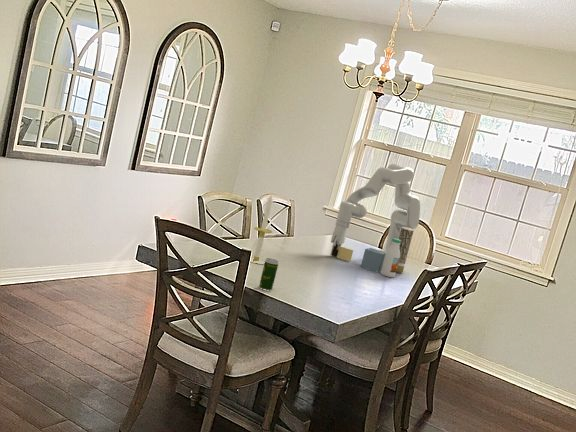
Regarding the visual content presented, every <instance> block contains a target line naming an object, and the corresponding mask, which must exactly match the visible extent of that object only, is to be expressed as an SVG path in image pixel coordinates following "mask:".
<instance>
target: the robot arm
mask: <svg viewBox="0 0 576 432" xmlns="http://www.w3.org/2000/svg"><path fill="white" fill-rule="evenodd" d="M414 176H415V172H414V170H413V169H412V168H410V167H409V166H408V167H407V166H405V165H404V166H403V165H400V164H395V163H392V164H389V165H388V166H387V167H378V169H377V170H376V171H375V172H374V174H373V175H371V177H370V179H369V180H368V182H367V183H366V184H365V185H364V186H363V187H360V188H358V189H357V190H355V191H354V192H352V193H350V195H349V196H348V197H347V199H346V201H341V202H340V205H339V208H338V209H339V210H338V213H337V218H336V220H335V227H334V230H333V231H332V232H333V233H332V236H331V240H330V243H332V246H333V250H332V249H331V250H332V254H331V253H330V254H331V255H332V257H334V256H335V258H337V254H338V247H339V246H341V247H342V245H343V244H344V243H345V240H346V237H347V233H348V229H349V228H350V224H351V219H352V217H355V218H357V219H360V218H364V217H365V216H366V215H367V212H368V210H367V207H365V206H364V205H363V204H360V203H359V202H360V201H361V200H365V199H368V198H372V197H375V196H378V194H379V193H380V192H381V190H382V189H383V187H384V186H385V185H386V184H387V185H390V186H395V189H394V205H395V206H396V207H397V208H399V209H396V210H393V212H392V213H391V216H390V223H389V229H388V234H387V238H386V242H385V245H384V249H383V252H387V250H388V249H389V247H390V246H391V244H392V239H393V238H395V239H399V236H400V232H401V228H402V227H407V228H411V229H413V230H414V231H415V229H417V228H418V226H419V223H420V215H421V201H420V199H419V197H418V196H416V195H414V194H411V183H410V182H412V180H413V179H414ZM331 255H330V256H331Z"/></svg>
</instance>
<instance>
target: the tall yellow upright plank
mask: <svg viewBox="0 0 576 432" xmlns="http://www.w3.org/2000/svg"><path fill="white" fill-rule="evenodd" d="M332 250H333V245H332V246H331V251H330V253H329V254H330V256H332V255H331V254H332ZM353 252H354V249H351V248H347V247H345V246H342V245H341V246H339V247H338V254H337V257H335V256H332V257H335V258H338V259H341V260H344V261H347V262H351V261H352V258H353V257H352V256H353Z"/></svg>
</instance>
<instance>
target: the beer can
mask: <svg viewBox="0 0 576 432" xmlns="http://www.w3.org/2000/svg"><path fill="white" fill-rule="evenodd" d="M264 262H265V263H264V265H263V269H262V273H261V276H260V280H259V285H258V287H260V288H262V289H266V290H271V291H272V290H273V287H274V283H275V279H276V275H277V270H278V267H279V260H277V259H275V258H270V257H267V258H265V260H264ZM260 288H259V289H260ZM262 289H261V290H262Z"/></svg>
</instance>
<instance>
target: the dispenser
mask: <svg viewBox="0 0 576 432" xmlns="http://www.w3.org/2000/svg"><path fill="white" fill-rule="evenodd" d="M385 254H386V252H384V250H383V251H382V250H379V249H376V248H373V247H368V248H364V252H363V256H362V261H361V265H360V267H361V268H362V269H366V270H368V271H369V270H370V271H373V272H376V273H381V269H382V265H383V262H384V258H385Z"/></svg>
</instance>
